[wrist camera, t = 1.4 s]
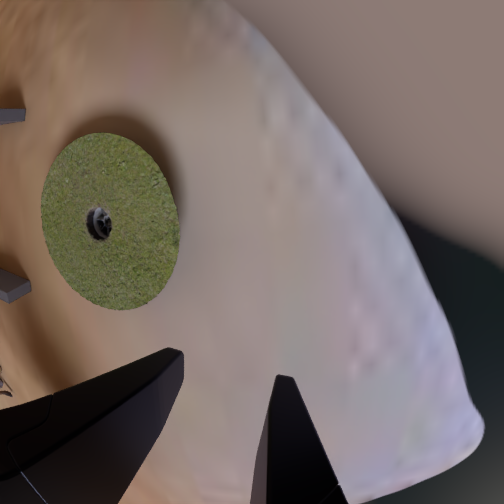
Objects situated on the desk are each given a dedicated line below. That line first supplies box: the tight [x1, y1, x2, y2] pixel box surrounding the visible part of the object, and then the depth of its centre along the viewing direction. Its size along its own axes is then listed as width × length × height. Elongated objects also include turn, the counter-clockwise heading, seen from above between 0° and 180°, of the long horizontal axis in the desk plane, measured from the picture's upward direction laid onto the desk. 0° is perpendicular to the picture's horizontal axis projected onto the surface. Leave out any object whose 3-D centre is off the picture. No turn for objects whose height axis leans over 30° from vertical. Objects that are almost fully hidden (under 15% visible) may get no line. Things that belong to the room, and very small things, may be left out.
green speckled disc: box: [41, 132, 180, 310], centre depth 18 cm, size 11×11×2 cm
